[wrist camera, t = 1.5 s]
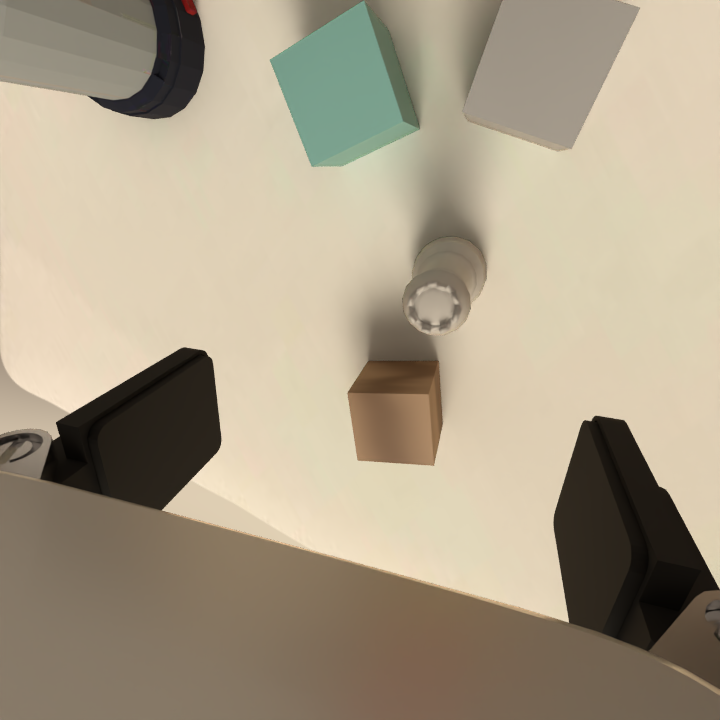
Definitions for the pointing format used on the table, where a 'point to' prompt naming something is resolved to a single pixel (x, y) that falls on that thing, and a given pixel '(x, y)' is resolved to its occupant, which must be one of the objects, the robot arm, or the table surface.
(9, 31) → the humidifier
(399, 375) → the walnut cube
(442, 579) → the table surface
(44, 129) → the table surface
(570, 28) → the grey cube
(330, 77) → the teal cube
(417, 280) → the rook chess piece
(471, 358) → the table surface
